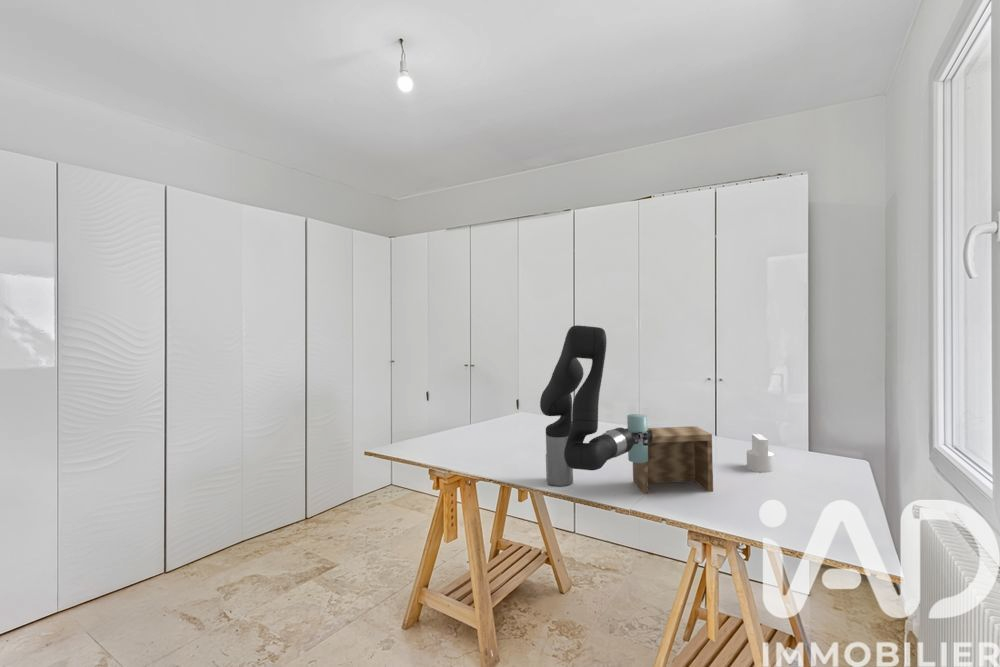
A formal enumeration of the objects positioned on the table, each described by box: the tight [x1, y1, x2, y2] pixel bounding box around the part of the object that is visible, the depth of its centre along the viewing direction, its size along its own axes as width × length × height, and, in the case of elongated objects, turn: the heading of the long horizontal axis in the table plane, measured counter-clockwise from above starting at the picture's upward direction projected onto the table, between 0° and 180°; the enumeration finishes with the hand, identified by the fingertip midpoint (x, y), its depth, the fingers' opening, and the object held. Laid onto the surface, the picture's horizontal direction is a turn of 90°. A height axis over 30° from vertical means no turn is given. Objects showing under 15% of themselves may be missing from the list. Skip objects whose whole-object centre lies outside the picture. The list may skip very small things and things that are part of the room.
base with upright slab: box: [746, 433, 775, 474], centre depth 181 cm, size 9×9×12 cm
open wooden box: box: [632, 425, 714, 495], centre depth 165 cm, size 23×12×19 cm, turn 91°
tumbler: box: [626, 413, 648, 463], centre depth 153 cm, size 6×6×14 cm
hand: (641, 431), depth 154 cm, fingers closed on tumbler, 6 cm apart
